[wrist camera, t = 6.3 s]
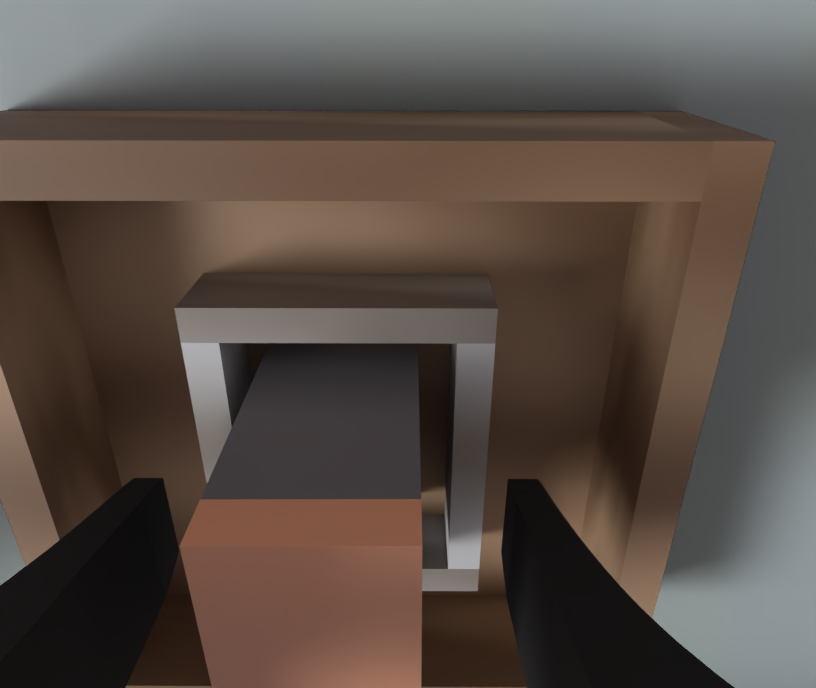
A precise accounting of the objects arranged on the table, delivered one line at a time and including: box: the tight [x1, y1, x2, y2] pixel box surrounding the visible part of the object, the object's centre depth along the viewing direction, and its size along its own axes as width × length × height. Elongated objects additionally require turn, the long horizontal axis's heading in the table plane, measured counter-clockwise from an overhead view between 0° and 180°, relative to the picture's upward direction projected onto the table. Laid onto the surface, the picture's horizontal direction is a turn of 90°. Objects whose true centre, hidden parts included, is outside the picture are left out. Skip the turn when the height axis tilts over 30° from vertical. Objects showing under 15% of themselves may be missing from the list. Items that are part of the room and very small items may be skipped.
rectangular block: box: [179, 343, 422, 688], centre depth 13 cm, size 5×4×7 cm
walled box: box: [0, 110, 775, 688], centre depth 15 cm, size 15×15×4 cm
